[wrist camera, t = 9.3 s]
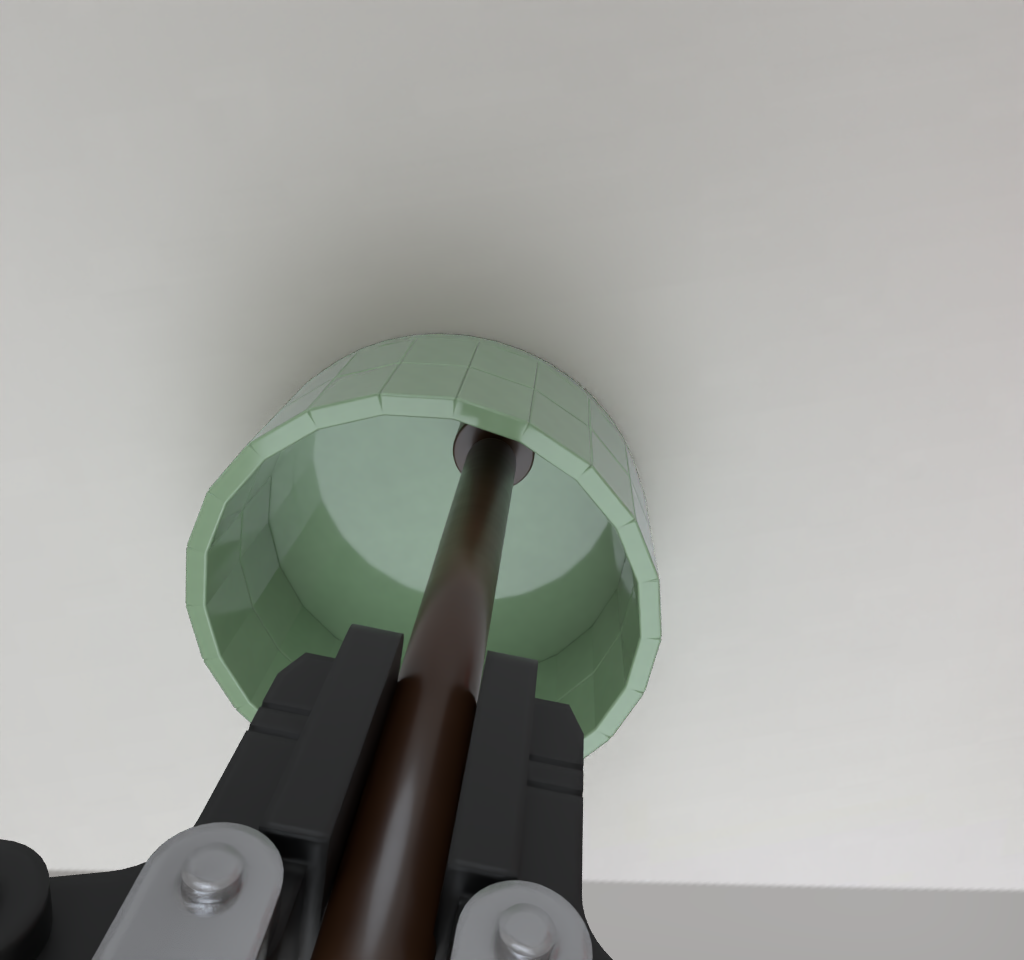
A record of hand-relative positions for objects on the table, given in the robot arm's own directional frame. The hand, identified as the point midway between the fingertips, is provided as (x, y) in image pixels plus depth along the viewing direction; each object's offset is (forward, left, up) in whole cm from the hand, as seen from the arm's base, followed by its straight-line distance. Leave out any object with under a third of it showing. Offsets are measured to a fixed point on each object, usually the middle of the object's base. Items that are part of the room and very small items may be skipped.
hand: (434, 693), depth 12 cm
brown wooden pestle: (0, 0, -10) cm, 10 cm away
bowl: (-2, +3, -12) cm, 12 cm away
